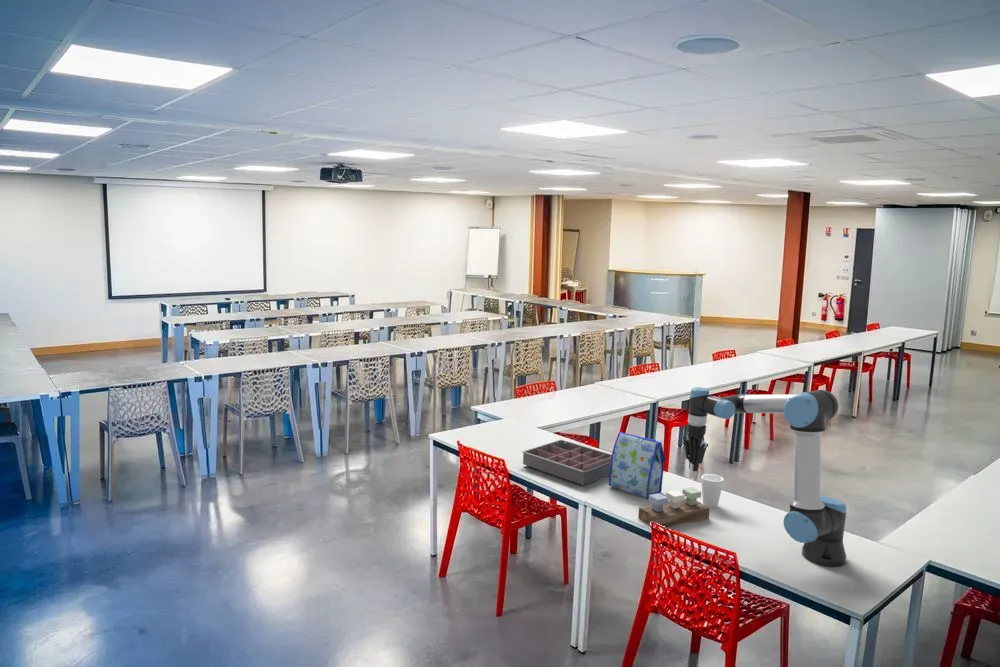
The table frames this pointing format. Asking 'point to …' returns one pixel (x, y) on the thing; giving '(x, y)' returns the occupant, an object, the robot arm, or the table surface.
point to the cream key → (675, 498)
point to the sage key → (691, 495)
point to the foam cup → (711, 489)
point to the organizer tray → (569, 461)
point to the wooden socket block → (674, 514)
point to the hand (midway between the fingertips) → (692, 477)
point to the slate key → (658, 501)
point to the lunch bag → (637, 465)
